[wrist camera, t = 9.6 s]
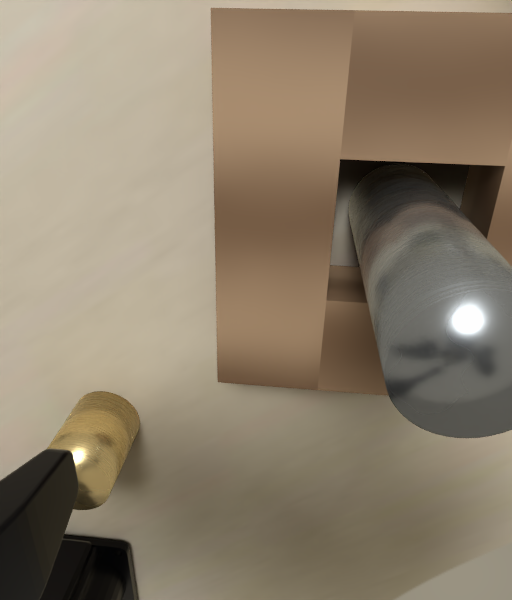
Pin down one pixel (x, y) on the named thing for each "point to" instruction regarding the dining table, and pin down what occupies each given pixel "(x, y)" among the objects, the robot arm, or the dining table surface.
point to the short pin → (98, 443)
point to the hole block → (325, 168)
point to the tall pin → (434, 304)
